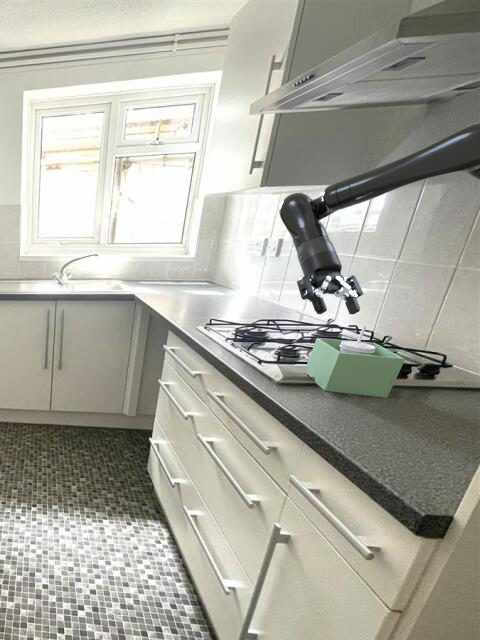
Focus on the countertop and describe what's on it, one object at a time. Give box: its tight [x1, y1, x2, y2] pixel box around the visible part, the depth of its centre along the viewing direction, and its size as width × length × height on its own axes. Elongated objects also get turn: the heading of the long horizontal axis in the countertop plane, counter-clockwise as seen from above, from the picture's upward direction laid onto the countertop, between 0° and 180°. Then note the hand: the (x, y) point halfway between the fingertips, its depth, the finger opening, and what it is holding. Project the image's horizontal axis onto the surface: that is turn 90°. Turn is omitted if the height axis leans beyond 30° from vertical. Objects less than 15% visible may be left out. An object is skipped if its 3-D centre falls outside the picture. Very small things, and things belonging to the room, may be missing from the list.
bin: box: [305, 337, 406, 399], centre depth 101 cm, size 12×12×10 cm
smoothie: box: [340, 325, 376, 355], centre depth 100 cm, size 6×6×14 cm
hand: (338, 312), depth 103 cm, fingers open, 8 cm apart
